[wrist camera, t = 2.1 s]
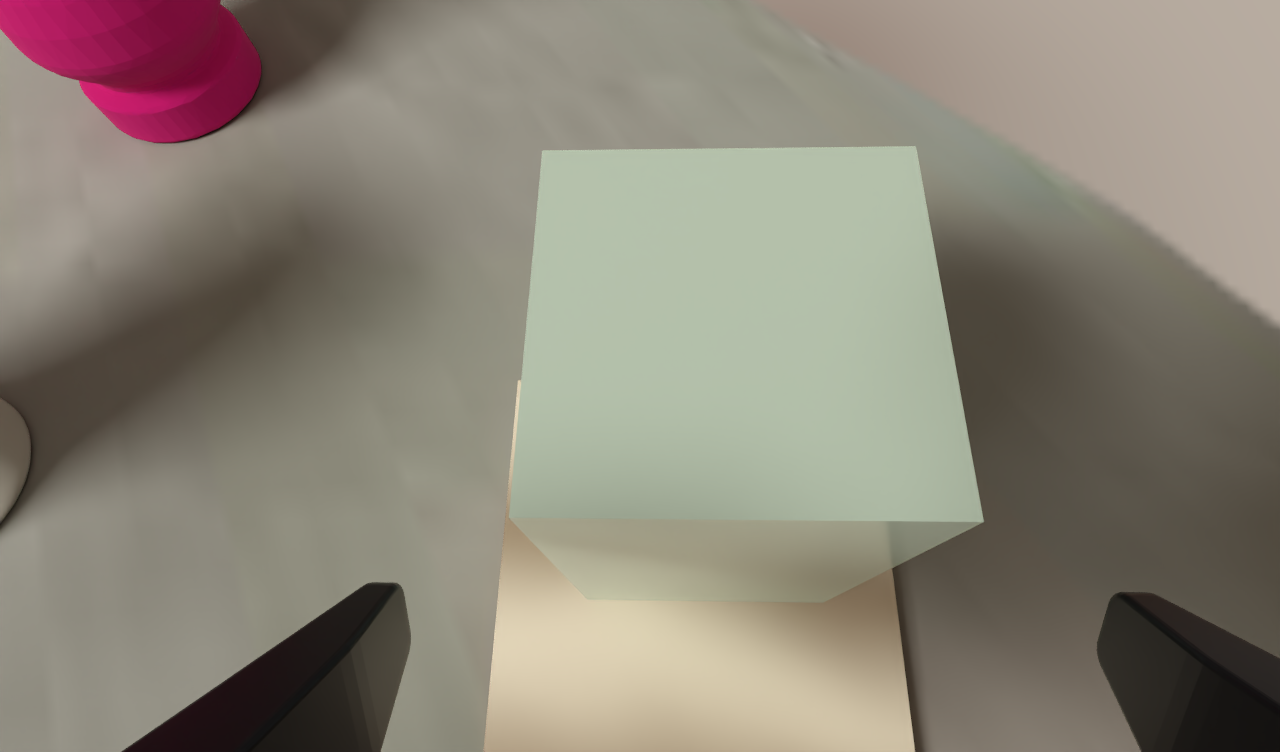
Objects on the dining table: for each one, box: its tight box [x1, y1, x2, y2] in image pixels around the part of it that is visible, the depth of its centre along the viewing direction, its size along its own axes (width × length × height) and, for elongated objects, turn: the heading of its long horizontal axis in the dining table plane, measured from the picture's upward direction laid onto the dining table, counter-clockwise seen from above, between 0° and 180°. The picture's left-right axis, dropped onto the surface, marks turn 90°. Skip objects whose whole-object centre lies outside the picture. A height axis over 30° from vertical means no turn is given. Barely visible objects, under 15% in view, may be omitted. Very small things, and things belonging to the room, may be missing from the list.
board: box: [484, 380, 915, 752], centre depth 20 cm, size 11×11×1 cm
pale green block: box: [509, 146, 984, 603], centre depth 16 cm, size 6×6×11 cm
